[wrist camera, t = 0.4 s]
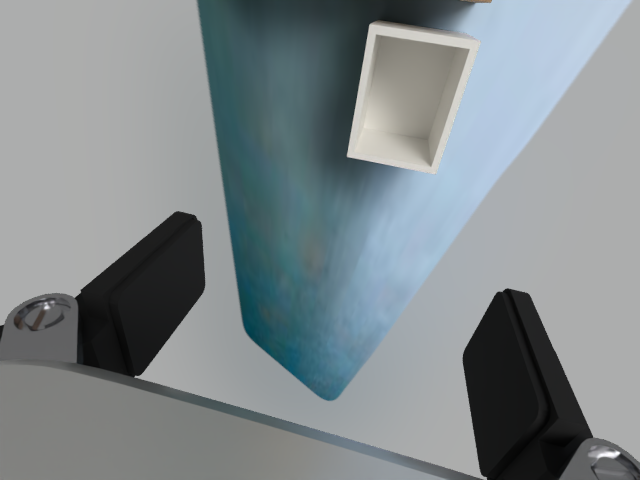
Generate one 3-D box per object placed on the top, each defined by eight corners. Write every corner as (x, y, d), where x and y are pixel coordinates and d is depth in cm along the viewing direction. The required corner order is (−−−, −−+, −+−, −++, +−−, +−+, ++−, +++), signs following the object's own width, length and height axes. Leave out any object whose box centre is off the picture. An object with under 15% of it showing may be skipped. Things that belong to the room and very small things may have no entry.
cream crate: (378, 19, 28) (369, 24, 22) (466, 33, 27) (481, 41, 22) (357, 130, 33) (346, 156, 28) (431, 144, 32) (436, 174, 27)
